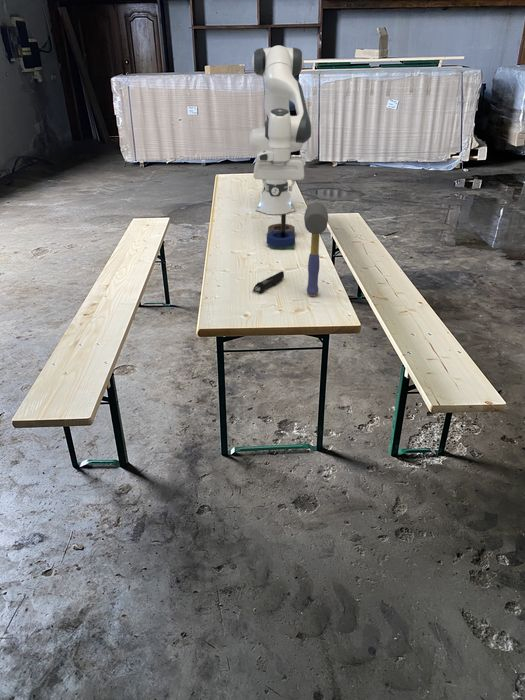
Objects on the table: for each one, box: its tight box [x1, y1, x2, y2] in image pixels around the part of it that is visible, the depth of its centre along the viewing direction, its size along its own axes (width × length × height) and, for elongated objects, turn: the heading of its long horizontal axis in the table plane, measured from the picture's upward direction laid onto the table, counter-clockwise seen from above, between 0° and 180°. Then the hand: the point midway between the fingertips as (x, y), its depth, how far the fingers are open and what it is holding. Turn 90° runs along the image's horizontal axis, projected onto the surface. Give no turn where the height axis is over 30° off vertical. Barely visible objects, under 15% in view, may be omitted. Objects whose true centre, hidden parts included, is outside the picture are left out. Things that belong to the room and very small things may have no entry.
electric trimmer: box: [252, 271, 285, 294], centre depth 183 cm, size 4×16×3 cm, turn 144°
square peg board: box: [271, 213, 295, 250], centre depth 217 cm, size 9×9×13 cm
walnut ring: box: [267, 223, 296, 235], centre depth 231 cm, size 12×12×3 cm
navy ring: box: [266, 231, 296, 247], centre depth 219 cm, size 12×12×3 cm
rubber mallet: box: [303, 201, 329, 297], centre depth 170 cm, size 12×8×30 cm, turn 175°
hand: (278, 190), depth 213 cm, fingers open, 8 cm apart
